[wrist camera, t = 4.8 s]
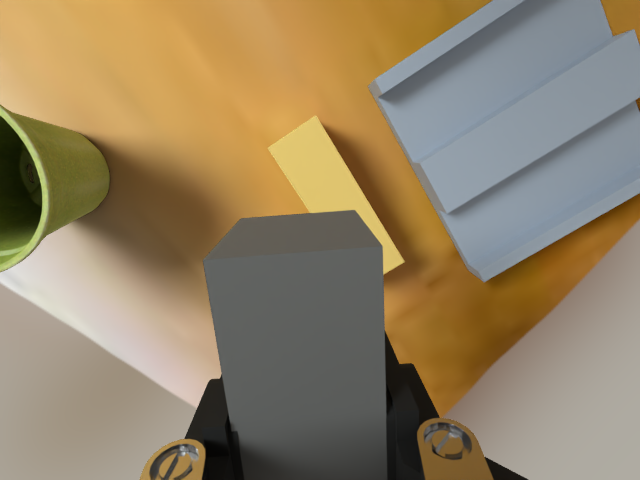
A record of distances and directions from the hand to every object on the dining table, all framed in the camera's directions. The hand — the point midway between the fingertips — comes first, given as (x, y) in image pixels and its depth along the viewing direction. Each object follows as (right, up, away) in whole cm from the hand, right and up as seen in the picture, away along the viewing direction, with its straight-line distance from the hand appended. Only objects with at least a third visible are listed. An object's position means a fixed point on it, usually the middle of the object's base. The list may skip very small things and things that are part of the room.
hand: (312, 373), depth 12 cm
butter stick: (+1, +8, +14) cm, 16 cm away
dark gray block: (0, 0, 0) cm, 0 cm away
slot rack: (+14, +13, +13) cm, 23 cm away
